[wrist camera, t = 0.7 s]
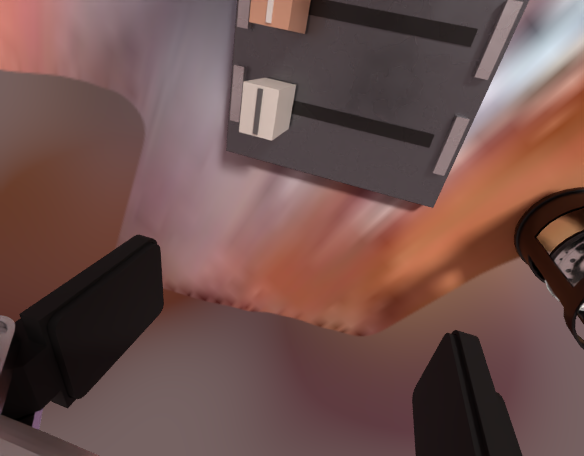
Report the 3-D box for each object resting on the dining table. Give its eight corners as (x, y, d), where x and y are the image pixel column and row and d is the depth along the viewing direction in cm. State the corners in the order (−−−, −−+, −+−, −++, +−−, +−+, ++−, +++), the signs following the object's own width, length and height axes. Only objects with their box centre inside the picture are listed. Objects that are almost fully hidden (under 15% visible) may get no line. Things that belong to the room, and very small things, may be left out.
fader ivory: (265, 77, 29) (242, 81, 25) (296, 84, 29) (278, 90, 25) (259, 121, 31) (238, 132, 27) (288, 128, 31) (271, 141, 27)
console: (254, -95, 26) (240, -110, 23) (544, -52, 23) (562, -64, 20) (234, 146, 36) (222, 152, 34) (431, 199, 33) (433, 211, 30)
